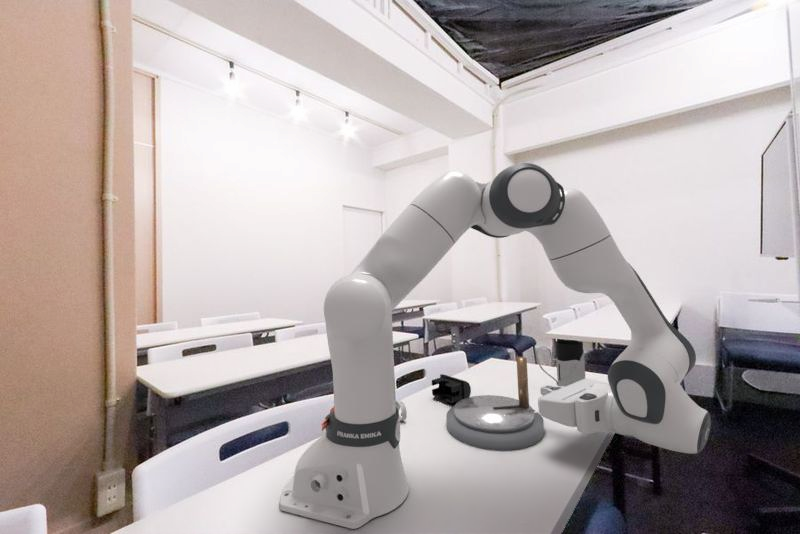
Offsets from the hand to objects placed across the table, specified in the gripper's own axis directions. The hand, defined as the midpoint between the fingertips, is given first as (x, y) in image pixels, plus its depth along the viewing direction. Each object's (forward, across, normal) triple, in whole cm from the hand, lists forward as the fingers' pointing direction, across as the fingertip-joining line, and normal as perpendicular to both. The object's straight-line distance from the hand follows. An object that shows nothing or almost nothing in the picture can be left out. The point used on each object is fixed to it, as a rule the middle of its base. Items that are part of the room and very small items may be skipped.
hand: (544, 389), depth 82 cm
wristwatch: (+28, +23, +10) cm, 37 cm away
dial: (+9, +8, +7) cm, 14 cm away
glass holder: (+12, -28, +10) cm, 32 cm away
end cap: (+29, +3, +10) cm, 31 cm away
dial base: (+9, +8, +10) cm, 15 cm away
